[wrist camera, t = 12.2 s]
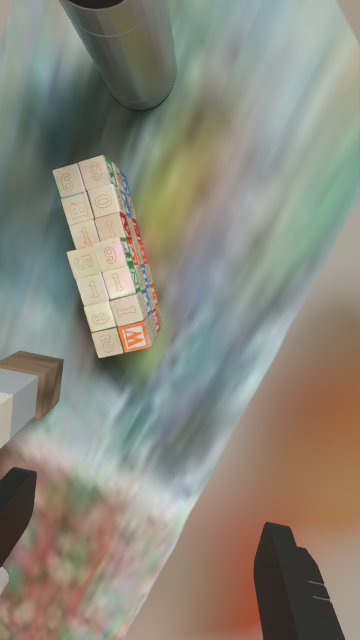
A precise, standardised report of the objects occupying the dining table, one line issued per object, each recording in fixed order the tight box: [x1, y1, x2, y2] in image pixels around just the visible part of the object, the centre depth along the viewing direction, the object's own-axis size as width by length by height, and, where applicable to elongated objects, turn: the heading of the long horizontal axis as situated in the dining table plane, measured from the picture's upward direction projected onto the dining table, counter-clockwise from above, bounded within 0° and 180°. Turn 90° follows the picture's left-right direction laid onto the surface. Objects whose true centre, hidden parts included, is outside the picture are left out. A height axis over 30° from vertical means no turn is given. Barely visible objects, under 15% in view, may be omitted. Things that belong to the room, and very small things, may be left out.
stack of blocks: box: [53, 155, 163, 358], centre depth 39 cm, size 21×6×12 cm, turn 14°
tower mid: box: [0, 368, 39, 439], centre depth 41 cm, size 6×6×6 cm
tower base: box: [0, 351, 64, 420], centre depth 47 cm, size 7×7×6 cm
